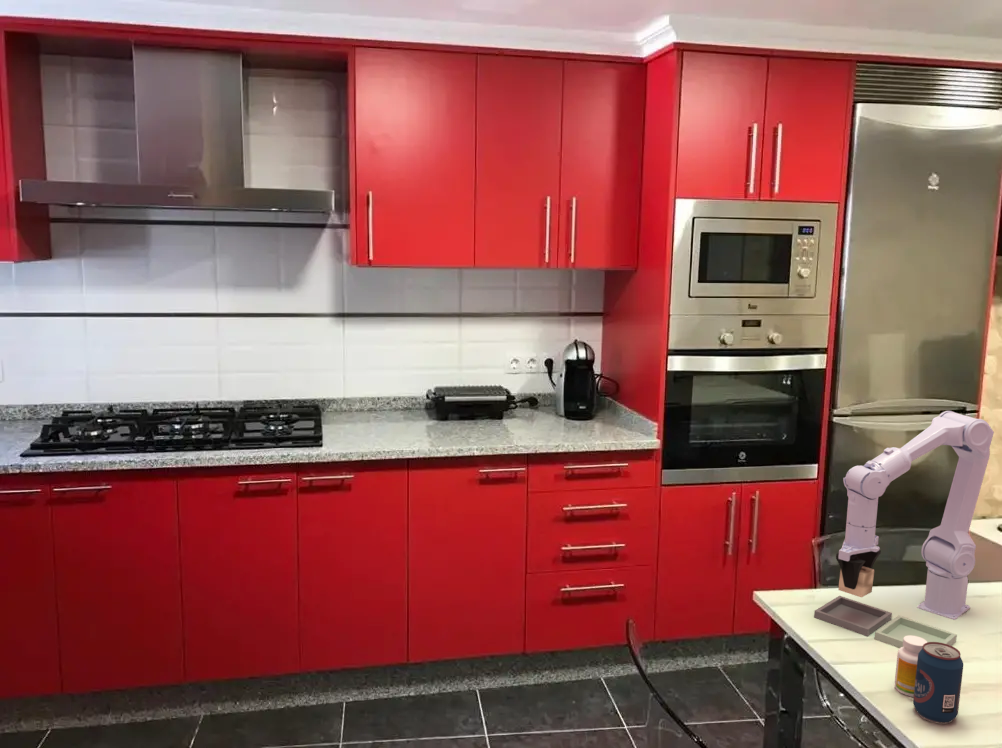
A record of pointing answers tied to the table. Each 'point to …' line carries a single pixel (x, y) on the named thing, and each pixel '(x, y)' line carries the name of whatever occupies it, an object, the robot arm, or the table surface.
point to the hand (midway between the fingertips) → (855, 584)
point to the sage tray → (912, 632)
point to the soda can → (938, 682)
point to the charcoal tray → (853, 615)
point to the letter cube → (859, 583)
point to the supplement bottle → (908, 664)
